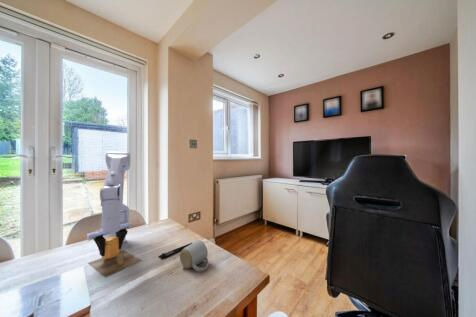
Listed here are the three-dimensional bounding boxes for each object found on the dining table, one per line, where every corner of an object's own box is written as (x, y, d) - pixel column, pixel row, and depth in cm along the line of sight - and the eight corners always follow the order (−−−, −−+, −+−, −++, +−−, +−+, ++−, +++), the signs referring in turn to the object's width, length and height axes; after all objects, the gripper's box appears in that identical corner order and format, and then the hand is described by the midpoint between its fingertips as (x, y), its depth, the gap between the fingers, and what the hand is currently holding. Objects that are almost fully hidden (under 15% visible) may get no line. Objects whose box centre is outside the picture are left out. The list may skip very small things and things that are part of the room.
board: (87, 267, 66) (87, 252, 66) (122, 253, 76) (123, 240, 76) (105, 282, 58) (105, 265, 58) (142, 264, 68) (142, 249, 68)
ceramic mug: (178, 265, 67) (178, 245, 67) (194, 256, 74) (195, 237, 74) (197, 277, 61) (197, 254, 61) (214, 265, 68) (214, 245, 68)
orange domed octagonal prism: (100, 256, 69) (100, 240, 69) (114, 250, 73) (115, 235, 73) (106, 260, 66) (106, 243, 66) (120, 254, 70) (121, 238, 70)
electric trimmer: (194, 250, 80) (195, 243, 80) (160, 265, 68) (160, 257, 68) (189, 248, 82) (190, 241, 82) (156, 262, 70) (156, 253, 70)
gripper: (92, 224, 61) (91, 264, 61) (135, 213, 74) (135, 247, 73) (84, 220, 65) (84, 258, 65) (126, 211, 77) (126, 242, 77)
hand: (110, 252), depth 70 cm, fingers closed on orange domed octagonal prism, 5 cm apart
